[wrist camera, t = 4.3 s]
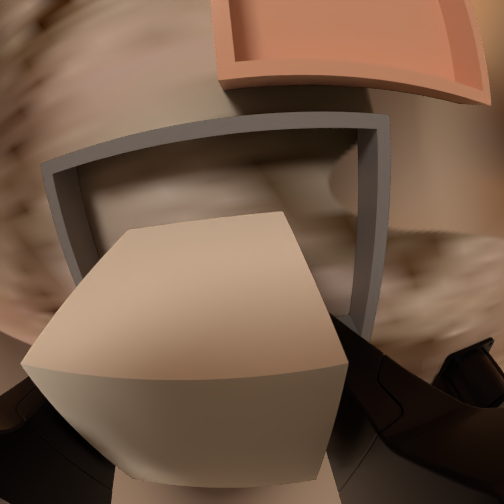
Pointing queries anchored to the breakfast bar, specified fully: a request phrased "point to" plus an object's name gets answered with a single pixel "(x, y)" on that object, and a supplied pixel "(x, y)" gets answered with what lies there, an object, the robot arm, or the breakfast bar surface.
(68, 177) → the gray rectangular frame
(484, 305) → the breakfast bar surface
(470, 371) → the robot arm
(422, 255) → the breakfast bar surface
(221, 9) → the terracotta tray
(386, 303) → the breakfast bar surface
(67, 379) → the stone block
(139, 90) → the breakfast bar surface
